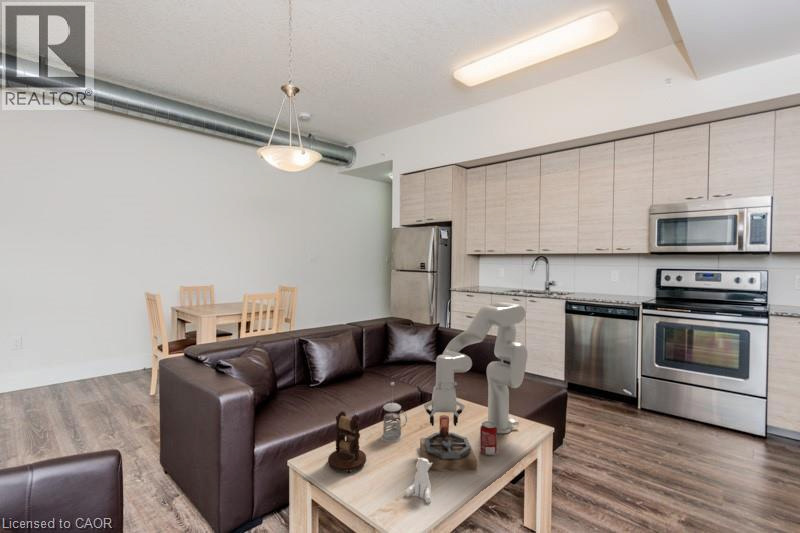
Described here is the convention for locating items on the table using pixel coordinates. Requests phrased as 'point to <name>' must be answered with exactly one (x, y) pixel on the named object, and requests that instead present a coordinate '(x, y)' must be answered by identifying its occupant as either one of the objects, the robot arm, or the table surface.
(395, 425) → the french press
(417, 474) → the sitting furry creature
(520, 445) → the table surface
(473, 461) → the block
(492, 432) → the soda can
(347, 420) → the scroll
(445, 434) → the handwheel
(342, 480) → the table surface
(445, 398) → the robot arm
